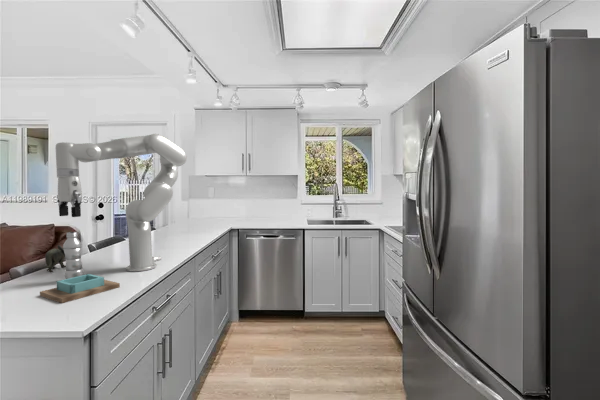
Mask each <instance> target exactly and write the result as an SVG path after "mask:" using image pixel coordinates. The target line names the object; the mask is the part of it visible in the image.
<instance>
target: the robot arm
mask: <svg viewBox="0 0 600 400" xmlns="http://www.w3.org/2000/svg"><path fill="white" fill-rule="evenodd" d="M151 154H157V155H159V163H160V171H159V172H158V173H157V175H156V176H155V177H154V178H153V180H152V181H151V182H150V183H149V184H148V185H147V186H146V187H145V188H144V190H143V197H144V198H143V199H135V200H132V201H130V202H129V203H128V204H127V206H126V207H125V217H126V218H125V219H126V223H127V234H128V252H129V253H128V254H129V265H127V266H126V268H125V269H126V271H128V272H144V271H149V270H152V269H155V268H156V267H157V264H156V262H159V261H161V260H162V257H161V256H153V249H152V247H153V245H152V227H151V223H150V222H153V220H155V219H156V218H157V217H158V216H159V215H160V214H161V213H162V212H163V210H164V209H165V208H166V207H167V206H168V205H169V202H171V200H172V198H173V193H174V191H173V188H172V187H173V186H174V184H175V183H176V182H177V180H178V177H179V170H178V169H179V168H178V167H181V166H184V164H185V163H186V162H187V157H188V156H187V154H186V152H185V151H184V150H183V148H181V147H179V146H178V145H176V144H175V143H174V142H172V141H171V140H169V139H168V138H166V137H164V136H163V135H161V134H159V133H152V134H147V135H146V134H145V135H140V136H139V135H138V136H133V137H132V136H131V137H121V138H117V139H112V140H110V141H105V142H97V143H91V142H88V143H87V142H86V143H73V142H67V141H66V142H63V141H62V142H57V143H55V163H56V165H55V167H56V178H57V179H58V180H57V195H56V198H57V202H58V212H59V213H58V215H59V217H68V216H69V206H68V203H70V204H71V205H70V206H71V207H70V209H71V212H70V213H71V214H70V215H71V218H80V217H81V216H82V214H81V211H82V210H81V209H82V208H81V207H82V200H83V191H82V185H81V180H80V166H79V163H80V162H81V163H90V162H91V163H92V162H96V161H97V162H98V161H104V160H113V159H124V158H132V157H137V156H145V155H151Z"/></svg>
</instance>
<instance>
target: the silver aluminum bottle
mask: <svg viewBox="0 0 600 400" xmlns="http://www.w3.org/2000/svg"><path fill="white" fill-rule="evenodd" d="M78 236H79V235H78V232H77V231H69V232H66V237H65V238H66V240H65V242H64V243H63V245H62V248H63V249H64V253H65V258H64V260H65V266H66V267H65V271H64V272H65V273H64V277H65V279H69V278H73V277H78V276H82V275H85V272H84V268H83V264H82V247H83V244H82V242H81V241H80V239H79V238H78Z"/></svg>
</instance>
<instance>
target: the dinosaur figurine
mask: <svg viewBox="0 0 600 400" xmlns="http://www.w3.org/2000/svg"><path fill="white" fill-rule="evenodd" d="M44 257H45V258H44V259H45V264H46V266H43V267H42V268H43V269H46V271H48V273H54V271H53V269H55V268H56V265H57V264H59V265H60V268H61V269H64V268H65V269H66V264H64V261H65V253H64V249H63V246H61V245H59V244H58V245H57V248H51V249H50V250H48V251H47V252H45V256H44Z"/></svg>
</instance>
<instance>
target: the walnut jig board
mask: <svg viewBox="0 0 600 400" xmlns="http://www.w3.org/2000/svg"><path fill="white" fill-rule="evenodd" d="M120 286H121V284H120V283H119V282H117V281H111V280H108V279H105V277H104V276H100V275H96V274H91V273H87V274H84V275H82V276H78V277H73V278H69V279H66V278H65V279H61V280H56V287H54V288H50V289H45V290H42V291H39V297H43V298H45V299H48V300H51V301H54V302H57V303H61V304H65V303H68V302H72V301H75V300H79V299H82V298H86V297H89V296H92V295H93V296H94V295H96V294H100V293H103V292H107V291H111V290H114V289H117V288H120Z"/></svg>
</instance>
